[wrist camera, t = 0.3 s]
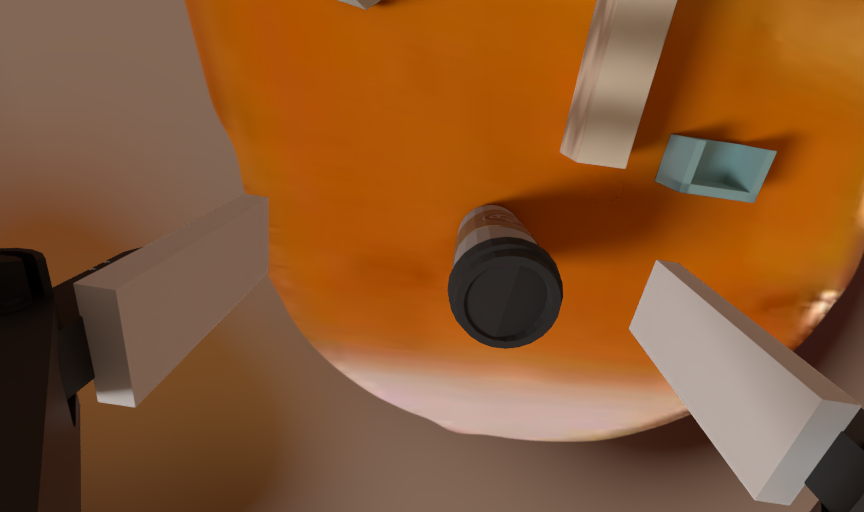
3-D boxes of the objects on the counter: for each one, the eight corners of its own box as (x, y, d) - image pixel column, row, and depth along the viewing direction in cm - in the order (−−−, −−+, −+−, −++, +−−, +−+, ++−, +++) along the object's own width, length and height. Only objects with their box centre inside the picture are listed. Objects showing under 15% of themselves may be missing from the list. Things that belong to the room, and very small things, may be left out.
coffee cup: (541, 204, 41) (588, 264, 27) (515, 277, 44) (545, 365, 30) (460, 184, 40) (465, 234, 26) (439, 259, 43) (434, 340, 29)
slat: (623, -113, 31) (660, -156, 26) (674, -106, 31) (722, -148, 26) (559, 151, 39) (576, 162, 33) (600, 157, 39) (625, 168, 33)
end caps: (759, -119, 31) (807, -152, 26) (845, -105, 31) (907, -136, 26) (654, 181, 39) (678, 192, 35) (721, 190, 39) (754, 202, 35)
